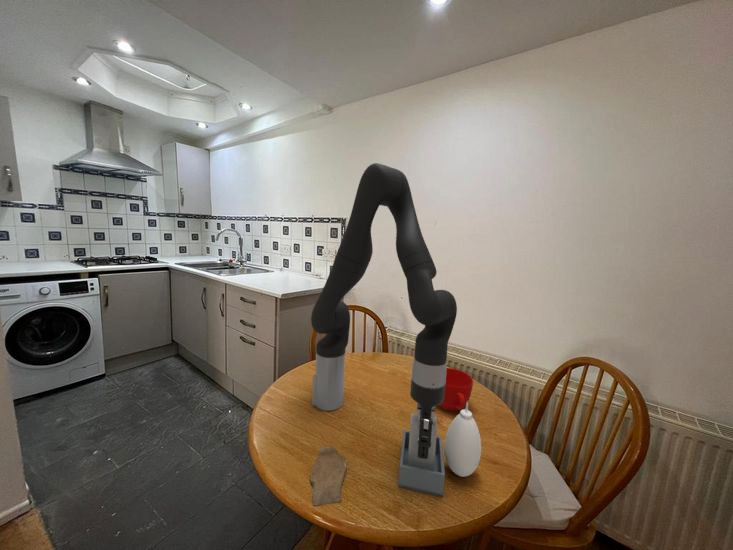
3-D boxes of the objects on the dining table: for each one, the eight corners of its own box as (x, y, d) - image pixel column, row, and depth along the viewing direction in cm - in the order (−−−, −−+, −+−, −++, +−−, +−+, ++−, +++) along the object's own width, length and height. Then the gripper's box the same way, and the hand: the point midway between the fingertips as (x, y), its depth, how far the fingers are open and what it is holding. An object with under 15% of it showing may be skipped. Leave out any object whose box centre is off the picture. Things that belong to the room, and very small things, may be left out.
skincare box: (433, 462, 68) (437, 416, 66) (433, 476, 64) (437, 428, 62) (407, 457, 69) (411, 412, 67) (406, 470, 65) (410, 423, 63)
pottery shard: (308, 458, 70) (311, 509, 56) (308, 448, 70) (311, 497, 56) (341, 453, 72) (352, 502, 58) (341, 444, 72) (353, 490, 58)
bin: (398, 486, 61) (399, 466, 61) (402, 447, 73) (403, 429, 72) (442, 496, 59) (444, 475, 59) (439, 454, 71) (441, 436, 70)
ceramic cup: (438, 425, 83) (441, 393, 81) (425, 393, 99) (427, 366, 98) (482, 426, 83) (485, 395, 82) (461, 394, 100) (464, 368, 98)
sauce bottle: (484, 477, 65) (493, 405, 63) (462, 492, 61) (471, 416, 58) (457, 455, 71) (464, 388, 69) (435, 467, 67) (442, 397, 65)
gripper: (448, 398, 56) (441, 471, 58) (443, 366, 69) (437, 426, 72) (410, 392, 57) (404, 463, 59) (412, 362, 71) (408, 421, 73)
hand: (422, 443), depth 65 cm, fingers open, 8 cm apart
